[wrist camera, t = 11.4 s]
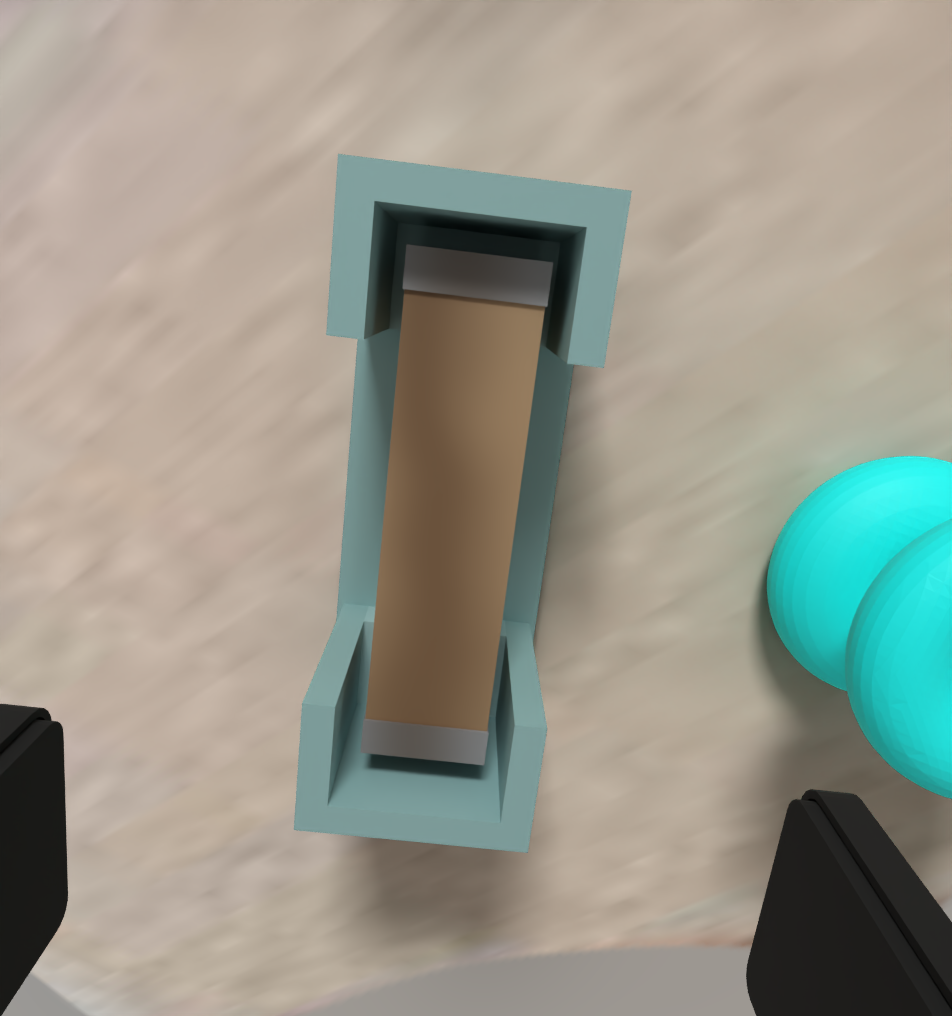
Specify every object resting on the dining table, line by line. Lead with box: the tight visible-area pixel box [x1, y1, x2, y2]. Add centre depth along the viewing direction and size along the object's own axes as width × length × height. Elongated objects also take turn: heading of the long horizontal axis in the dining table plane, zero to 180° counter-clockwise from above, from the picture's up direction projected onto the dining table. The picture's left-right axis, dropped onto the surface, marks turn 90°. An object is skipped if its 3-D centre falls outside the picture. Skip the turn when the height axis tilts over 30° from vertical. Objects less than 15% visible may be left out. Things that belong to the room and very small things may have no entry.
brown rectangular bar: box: [360, 244, 553, 765], centre depth 26 cm, size 4×16×5 cm, turn 173°
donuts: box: [767, 456, 952, 799], centre depth 28 cm, size 10×10×10 cm
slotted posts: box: [294, 154, 632, 853], centre depth 27 cm, size 8×20×10 cm, turn 173°
